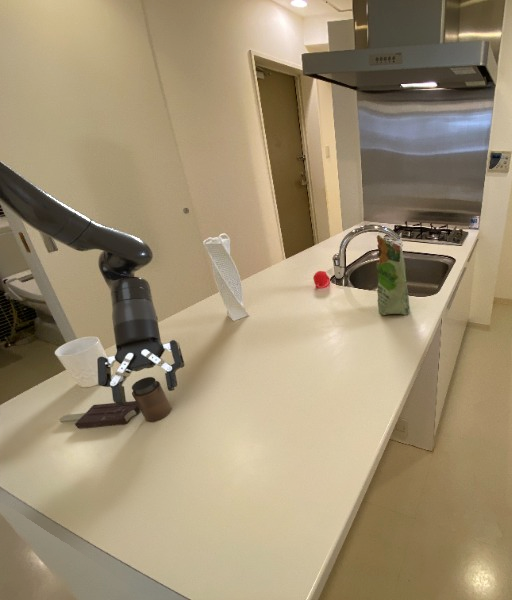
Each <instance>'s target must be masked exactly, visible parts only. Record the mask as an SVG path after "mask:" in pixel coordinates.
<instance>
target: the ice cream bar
mask: <svg viewBox="0 0 512 600" xmlns="http://www.w3.org/2000/svg"><path fill="white" fill-rule="evenodd" d="M140 412H141V410H140V408H139V407H138V405H137V403H136V401H135V400H131V401H126V404H123V405H118V404H117V403H115V402H110V403H109V402H108V403H97V404H93V405H92V406H90V408H89V409H88V410H87V411H86V412H81V413H70V414H64V415H63V416H61V417H60V418H59V419H58V420H59V422H60V423H70V422H75V424H74V425H75V427H76V428H77V429H88V428H89V429H90V428H101V427H112V426H121V425H122V426H123V425H126V424H127V423H128V422H129V421H130V420H131V419H132V418H133V417H135V416H137V415H139V413H140Z"/></svg>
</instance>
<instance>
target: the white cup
mask: <svg viewBox="0 0 512 600" xmlns="http://www.w3.org/2000/svg"><path fill="white" fill-rule="evenodd" d="M54 355H55V356H56V357H57V359H58V361H59V362H60V363H61V365H62V366H63V367H64V369H65V370H66V372H67V373H68V374H69V376H70V377H71V378H72V379H73V380H74V381H75V383H76V384H77V386H79V387H81V388H91V387H95V386H99V385H98V366H97V359H98V358H99V357H105V358H106V357H108V355H107V353H106V351H105V349H104V346H103V345H102V342H101V340H100V338H99V337H97V336H93V335H92V336H90V335H89V336H84V337H79V338H76V339H73V340H70V341H68V342H66V343H63V344H62V345H60V346H58V347H57V348H56V349H55V350H54ZM113 374H114V370H113V367H111V377H112V376H113Z"/></svg>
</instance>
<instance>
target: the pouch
mask: <svg viewBox="0 0 512 600" xmlns="http://www.w3.org/2000/svg"><path fill="white" fill-rule="evenodd" d="M376 239H377V240H376V241H377V250H378V252H377V254H376V257H377V258H378V260H379V261H377V262H376V269H377V272H378V273H377V281H378V283H377V289H376V293H377V307H378V309H377V310H378V314H380V316H386V315H396V314H397V315H398V314H399V315H400V314H401V315H404V316H408V314H409V313H410V311H411V308H410V297H409V291H408V281H407V276H406V275H407V274H406V262H405V258H404V253H403V248H402V247H401V245H400V244H398V243H394V242H391V241H390V240H387V239H386V238H383V237H382V236H381V235H379V234H378V235H376Z"/></svg>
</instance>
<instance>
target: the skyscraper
mask: <svg viewBox="0 0 512 600" xmlns="http://www.w3.org/2000/svg"><path fill="white" fill-rule="evenodd" d="M222 236H226V237H227V238H223V237H222ZM202 245H203V247H204V248H205V250H206V252H207V254H208V256H209V258H210V260H211V269H212V274H213V278H214V281H215V284H216V287H217V290H218V292H219V296H220V298H221V299H222V302H223V304H224V306H225V308H226V316H227V317H229V318H230V319H231V320H232V322H235V321H237V320H240V319H242V318H245V317H249V316H250V314H249V313H248V311H247V310H246V308H245V307H244V296H243V294H244V293H243V285H242V280H241V276H240V272H239V270H238V267H237V265H236V262H235V261H234V259H233V257H232V256H231V238H230V236H229V234H226V233H225V232H223V233H221V234H219V235H218V236H215V237H212V236H210V237H207V238H205V239H204V240H203V242H202Z"/></svg>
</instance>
